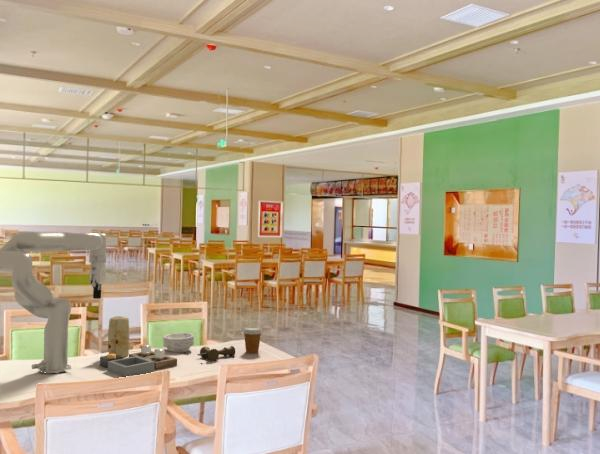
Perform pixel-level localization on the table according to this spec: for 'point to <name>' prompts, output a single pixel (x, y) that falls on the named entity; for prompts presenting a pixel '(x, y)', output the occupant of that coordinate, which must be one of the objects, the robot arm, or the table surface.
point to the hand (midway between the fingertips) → (97, 298)
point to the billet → (159, 354)
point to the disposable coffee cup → (252, 339)
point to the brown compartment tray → (158, 364)
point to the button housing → (105, 360)
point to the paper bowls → (178, 342)
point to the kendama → (216, 352)
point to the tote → (131, 366)
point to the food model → (118, 336)
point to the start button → (111, 356)
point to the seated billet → (145, 350)
